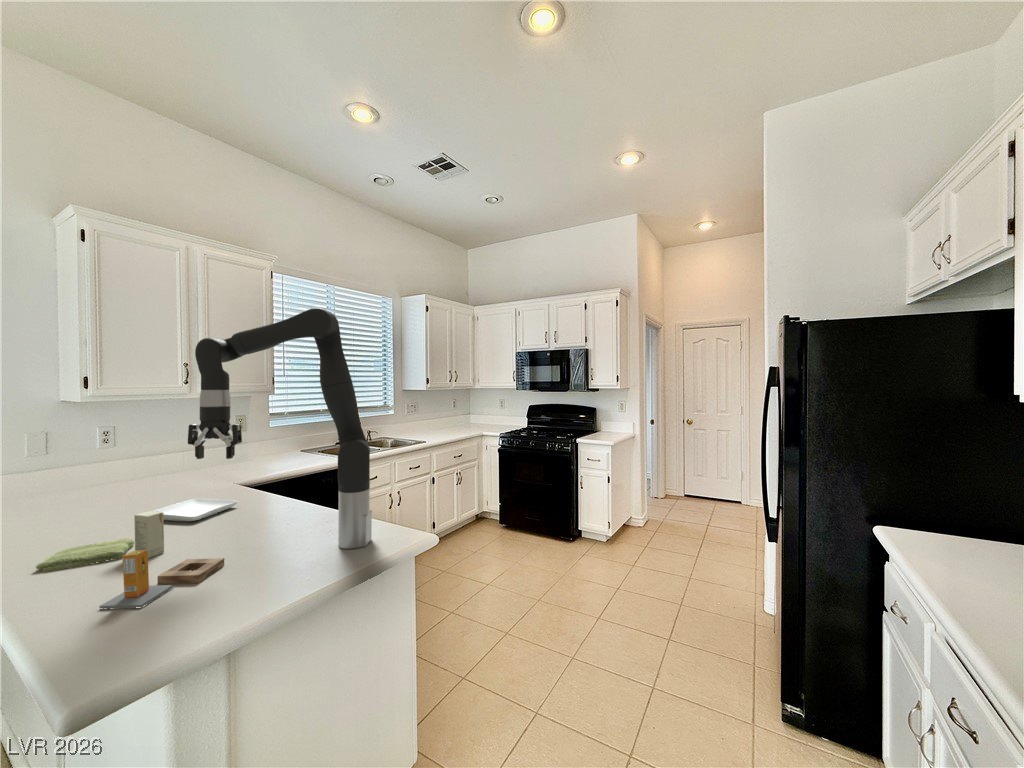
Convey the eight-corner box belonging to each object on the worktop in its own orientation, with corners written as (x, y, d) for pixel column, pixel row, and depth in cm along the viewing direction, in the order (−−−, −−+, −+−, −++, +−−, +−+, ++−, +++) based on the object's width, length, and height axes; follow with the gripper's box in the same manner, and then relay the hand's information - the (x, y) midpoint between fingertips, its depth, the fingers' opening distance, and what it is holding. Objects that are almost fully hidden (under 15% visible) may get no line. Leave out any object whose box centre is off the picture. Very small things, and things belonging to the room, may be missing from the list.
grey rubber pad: (172, 588, 101) (172, 585, 101) (141, 608, 92) (141, 604, 92) (134, 589, 100) (134, 586, 100) (99, 609, 91) (99, 606, 91)
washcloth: (55, 557, 119) (55, 546, 119) (135, 545, 128) (135, 535, 128) (33, 575, 108) (33, 563, 108) (123, 561, 117) (123, 550, 117)
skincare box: (164, 552, 122) (165, 512, 122) (147, 558, 118) (148, 516, 118) (150, 550, 124) (151, 509, 124) (133, 555, 120) (133, 514, 120)
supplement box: (134, 591, 98) (134, 549, 98) (149, 590, 98) (149, 549, 98) (122, 598, 94) (122, 555, 94) (137, 598, 94) (138, 554, 94)
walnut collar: (224, 565, 113) (224, 558, 113) (198, 582, 103) (198, 575, 103) (186, 566, 113) (186, 559, 113) (157, 584, 103) (157, 576, 103)
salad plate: (240, 507, 168) (240, 499, 168) (194, 525, 147) (194, 515, 147) (193, 505, 170) (193, 497, 170) (142, 523, 149) (142, 513, 149)
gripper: (181, 405, 119) (181, 461, 119) (231, 405, 120) (231, 460, 119) (199, 404, 126) (199, 456, 126) (247, 404, 127) (246, 456, 127)
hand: (215, 458), depth 123 cm, fingers open, 8 cm apart
